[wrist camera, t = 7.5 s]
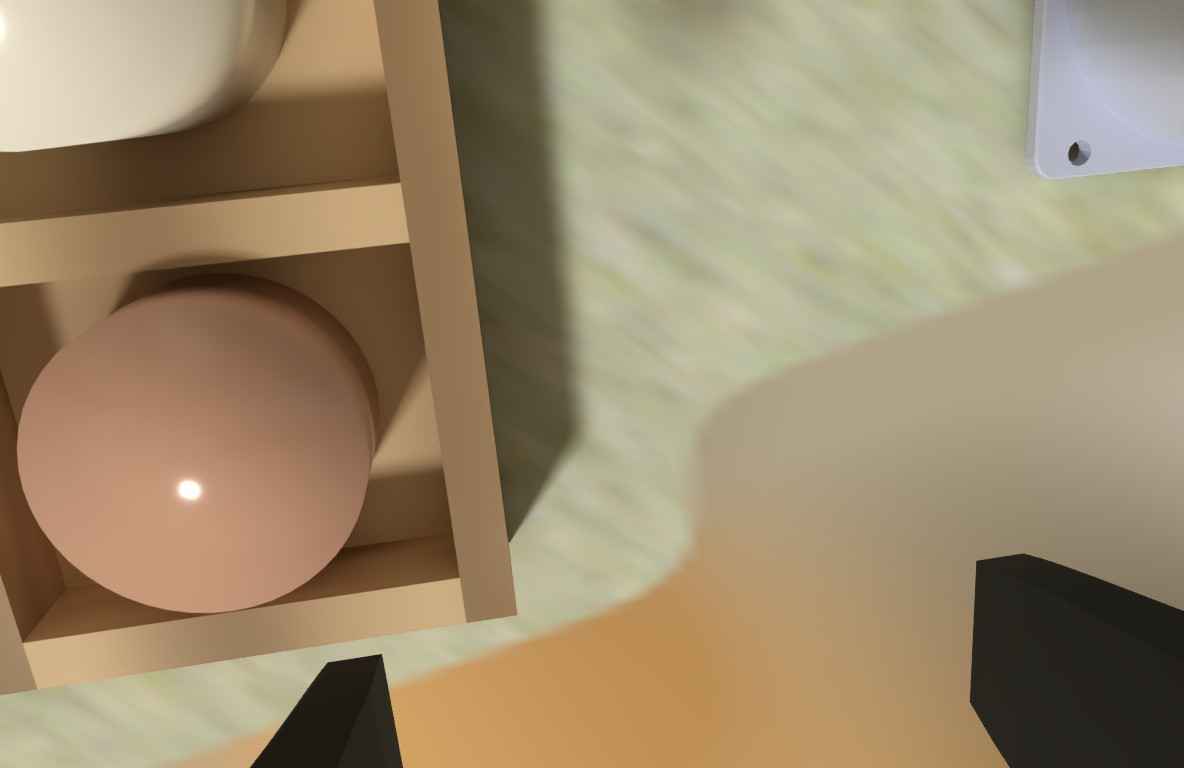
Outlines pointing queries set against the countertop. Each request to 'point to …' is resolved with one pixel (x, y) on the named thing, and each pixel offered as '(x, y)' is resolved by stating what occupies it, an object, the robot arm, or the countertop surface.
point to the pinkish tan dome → (202, 444)
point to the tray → (308, 265)
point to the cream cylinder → (129, 66)
